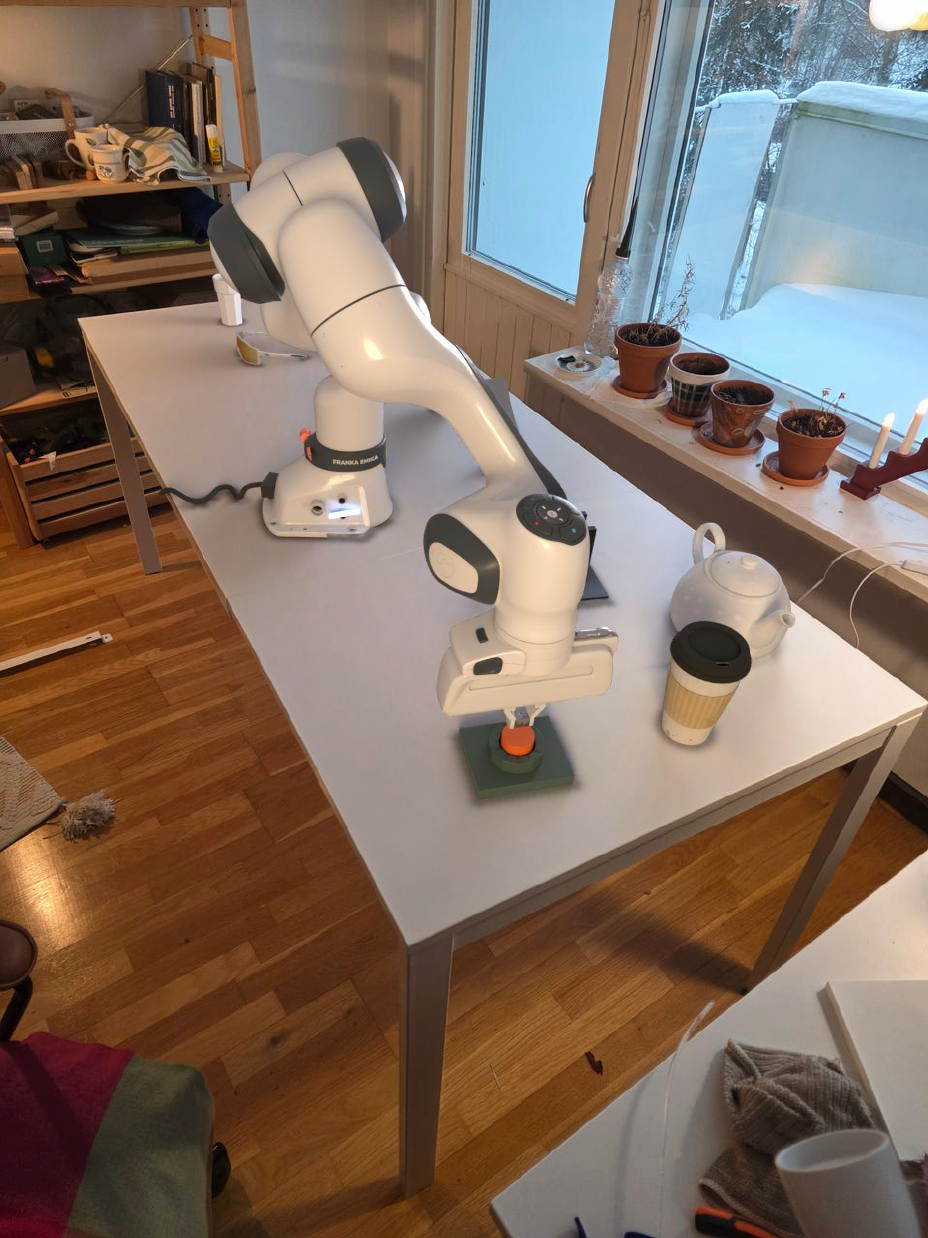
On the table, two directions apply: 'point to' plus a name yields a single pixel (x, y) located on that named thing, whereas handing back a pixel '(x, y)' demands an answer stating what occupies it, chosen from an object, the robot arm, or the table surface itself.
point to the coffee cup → (702, 679)
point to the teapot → (733, 594)
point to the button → (517, 740)
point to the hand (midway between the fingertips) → (519, 723)
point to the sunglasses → (255, 349)
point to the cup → (227, 301)
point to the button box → (514, 760)
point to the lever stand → (592, 572)
